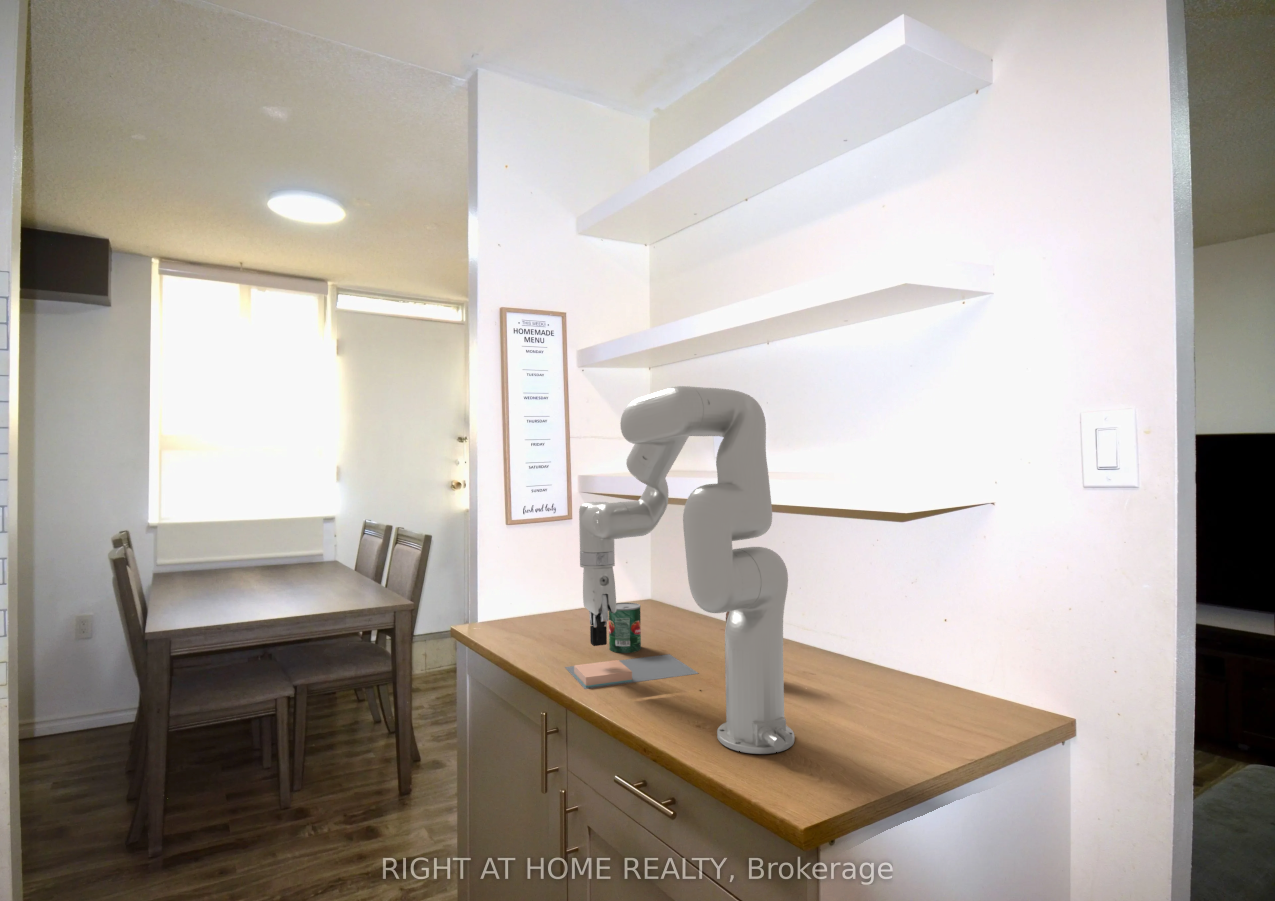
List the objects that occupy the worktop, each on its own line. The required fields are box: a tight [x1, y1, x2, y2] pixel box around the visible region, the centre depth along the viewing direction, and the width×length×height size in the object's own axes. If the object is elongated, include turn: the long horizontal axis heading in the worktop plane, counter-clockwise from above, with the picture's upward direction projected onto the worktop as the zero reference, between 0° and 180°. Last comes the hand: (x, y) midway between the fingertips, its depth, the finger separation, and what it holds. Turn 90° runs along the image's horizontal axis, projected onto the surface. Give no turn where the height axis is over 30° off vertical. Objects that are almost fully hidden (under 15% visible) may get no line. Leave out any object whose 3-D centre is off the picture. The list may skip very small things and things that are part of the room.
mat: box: [564, 653, 700, 690], centre depth 150 cm, size 16×26×1 cm, turn 111°
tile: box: [573, 659, 632, 687], centre depth 145 cm, size 2×10×9 cm
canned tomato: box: [608, 602, 642, 654], centre depth 168 cm, size 8×8×11 cm
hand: (598, 644), depth 148 cm, fingers closed
